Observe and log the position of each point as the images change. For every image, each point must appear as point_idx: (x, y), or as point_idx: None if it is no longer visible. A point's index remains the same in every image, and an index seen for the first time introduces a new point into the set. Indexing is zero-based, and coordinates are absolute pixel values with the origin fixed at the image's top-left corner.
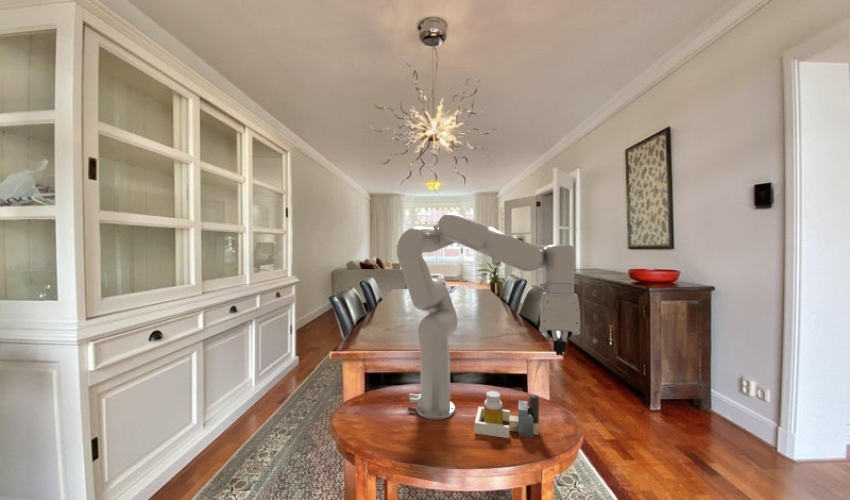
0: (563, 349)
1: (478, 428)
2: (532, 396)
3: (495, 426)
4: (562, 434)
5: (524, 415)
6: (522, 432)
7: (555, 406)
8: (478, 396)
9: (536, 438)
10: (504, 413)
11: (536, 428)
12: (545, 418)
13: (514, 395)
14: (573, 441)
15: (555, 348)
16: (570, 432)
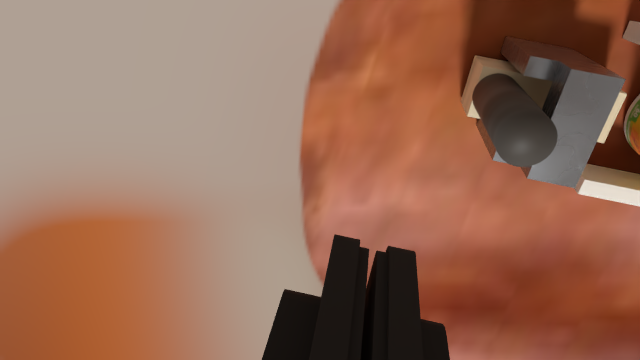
0: (305, 309)
1: None
2: (535, 142)
3: None
4: (363, 72)
5: (579, 64)
6: (558, 48)
7: (323, 276)
8: (636, 352)
9: (493, 30)
10: (606, 179)
11: (489, 63)
12: (395, 190)
13: (467, 355)
14: (333, 20)
15: (423, 342)
16: (324, 89)
